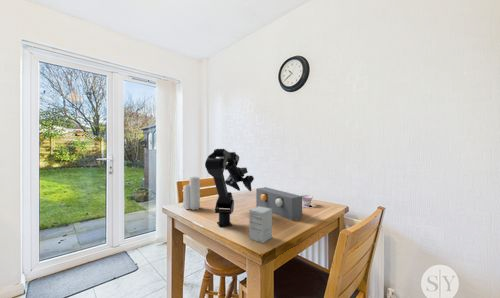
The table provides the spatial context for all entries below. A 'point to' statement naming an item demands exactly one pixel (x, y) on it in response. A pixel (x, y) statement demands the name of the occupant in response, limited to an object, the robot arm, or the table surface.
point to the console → (290, 203)
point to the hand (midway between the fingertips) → (245, 190)
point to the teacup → (307, 201)
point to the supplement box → (260, 224)
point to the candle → (192, 194)
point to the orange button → (263, 197)
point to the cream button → (279, 202)
